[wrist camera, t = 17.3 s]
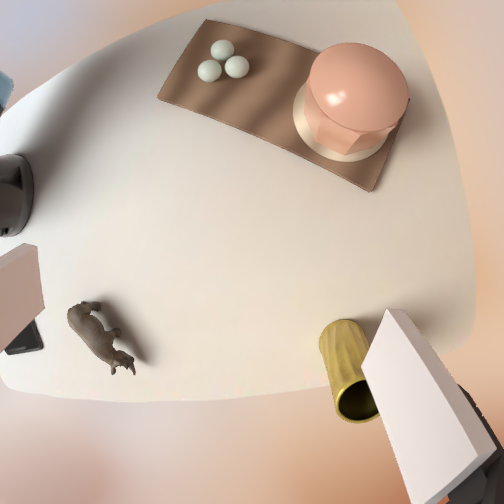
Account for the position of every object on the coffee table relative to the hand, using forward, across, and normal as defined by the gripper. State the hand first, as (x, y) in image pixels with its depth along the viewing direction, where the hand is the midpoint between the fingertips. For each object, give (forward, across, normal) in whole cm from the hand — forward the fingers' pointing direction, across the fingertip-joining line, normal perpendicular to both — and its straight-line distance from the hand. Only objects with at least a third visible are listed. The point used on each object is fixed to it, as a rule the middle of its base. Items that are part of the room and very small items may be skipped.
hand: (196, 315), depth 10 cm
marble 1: (+30, -6, +14) cm, 34 cm away
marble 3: (+29, -3, +15) cm, 33 cm away
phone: (+28, -40, -33) cm, 59 cm away
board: (+31, +3, +13) cm, 34 cm away
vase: (+22, +16, -15) cm, 32 cm away
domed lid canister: (+27, +11, +11) cm, 31 cm away
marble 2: (+30, -5, +18) cm, 35 cm away
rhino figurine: (+26, -16, -24) cm, 38 cm away
